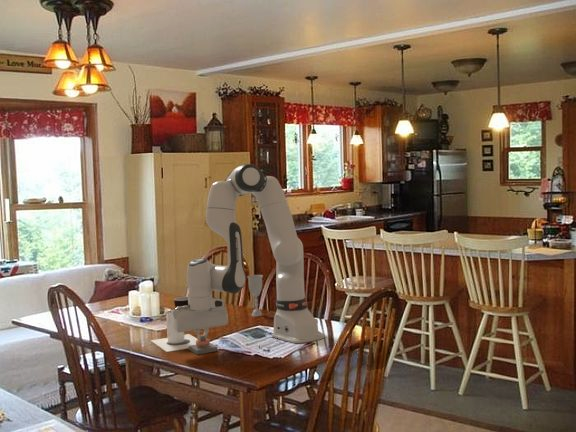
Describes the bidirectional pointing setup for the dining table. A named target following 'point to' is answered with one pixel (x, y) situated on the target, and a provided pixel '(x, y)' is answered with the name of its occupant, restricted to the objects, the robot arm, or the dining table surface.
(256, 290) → the chalice
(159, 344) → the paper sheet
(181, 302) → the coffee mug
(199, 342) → the button
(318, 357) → the dining table surface
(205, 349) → the button base
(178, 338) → the can
